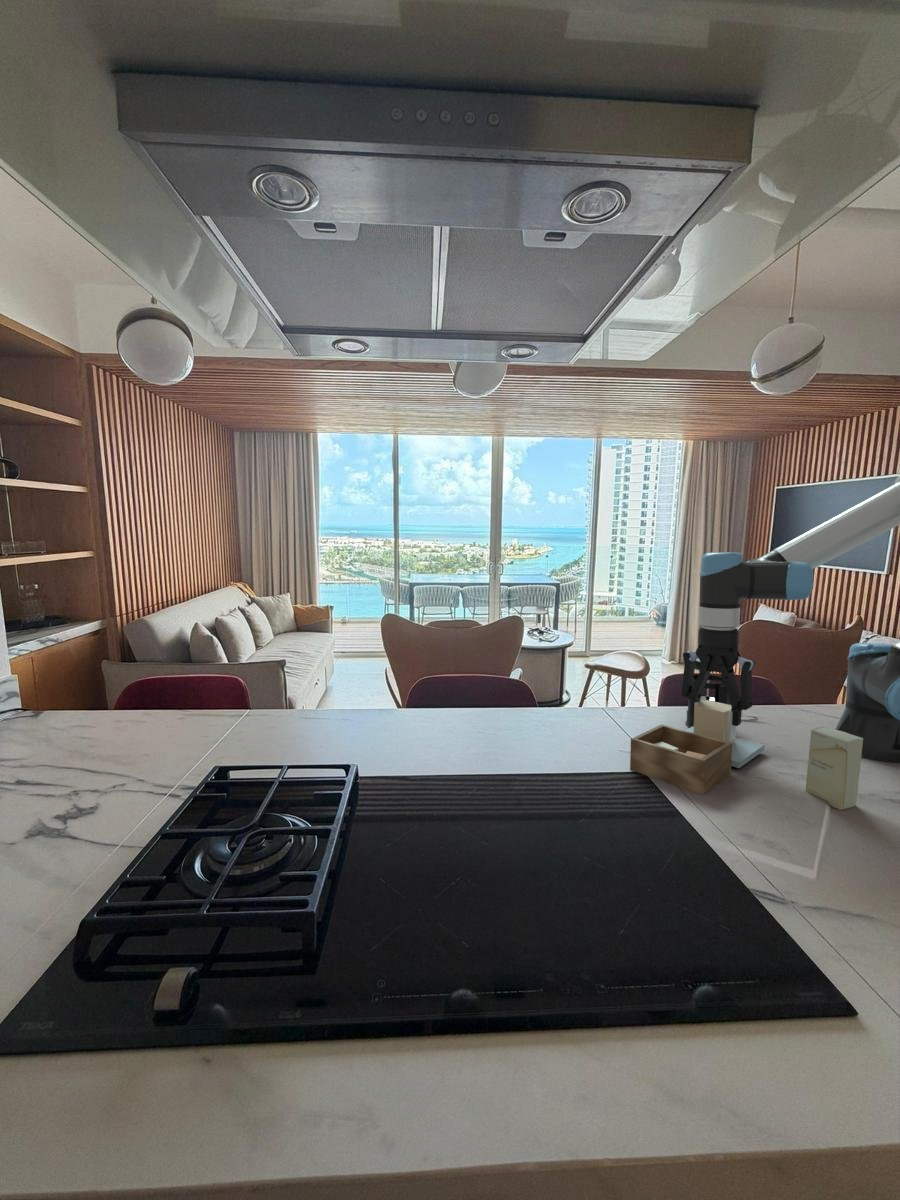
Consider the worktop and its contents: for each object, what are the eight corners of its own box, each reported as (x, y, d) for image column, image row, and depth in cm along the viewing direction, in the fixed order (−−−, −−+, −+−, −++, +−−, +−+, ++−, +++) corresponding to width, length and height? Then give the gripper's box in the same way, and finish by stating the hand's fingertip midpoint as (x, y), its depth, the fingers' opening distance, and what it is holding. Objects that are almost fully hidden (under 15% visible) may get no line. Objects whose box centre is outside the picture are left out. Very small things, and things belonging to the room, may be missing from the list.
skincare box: (804, 795, 92) (808, 728, 91) (821, 790, 94) (825, 725, 93) (842, 811, 87) (847, 741, 85) (859, 806, 88) (864, 737, 87)
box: (730, 778, 99) (732, 743, 98) (702, 799, 91) (704, 760, 91) (660, 756, 110) (661, 724, 109) (629, 773, 102) (630, 738, 101)
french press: (676, 720, 132) (679, 630, 130) (712, 718, 133) (715, 629, 130) (702, 736, 120) (706, 639, 118) (741, 735, 121) (745, 638, 119)
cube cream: (677, 768, 102) (678, 748, 102) (663, 772, 100) (663, 752, 100) (661, 760, 106) (662, 741, 105) (647, 764, 104) (647, 745, 104)
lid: (764, 750, 108) (766, 707, 108) (739, 768, 100) (741, 722, 99) (692, 731, 120) (693, 692, 119) (664, 746, 112) (665, 704, 111)
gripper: (776, 630, 102) (770, 743, 105) (681, 620, 117) (678, 720, 119) (762, 635, 98) (756, 753, 100) (665, 624, 112) (662, 727, 114)
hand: (714, 735), depth 110 cm, fingers closed on lid, 6 cm apart
